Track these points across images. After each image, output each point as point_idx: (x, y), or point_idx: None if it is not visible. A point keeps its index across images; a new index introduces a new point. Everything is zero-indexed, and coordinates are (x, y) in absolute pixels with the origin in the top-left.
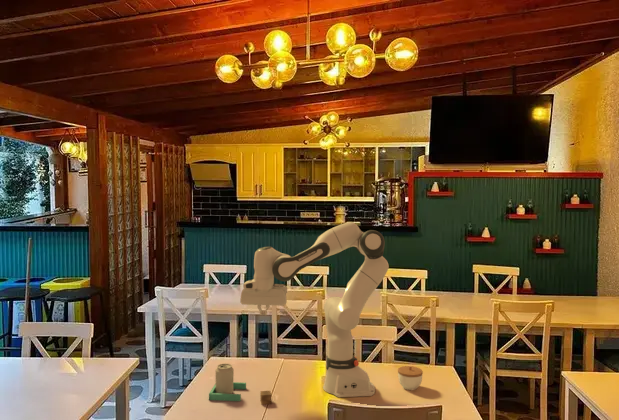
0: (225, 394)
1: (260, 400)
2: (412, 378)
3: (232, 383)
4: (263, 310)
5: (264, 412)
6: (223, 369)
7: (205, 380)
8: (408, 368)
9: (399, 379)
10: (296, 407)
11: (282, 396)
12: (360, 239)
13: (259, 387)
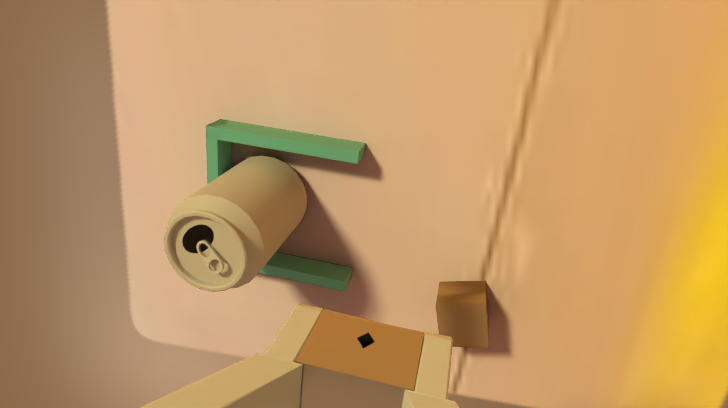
0: (278, 275)
1: (439, 285)
2: None
3: (289, 231)
4: (346, 394)
5: (455, 380)
6: (210, 286)
7: (144, 24)
8: None
9: None
10: (601, 365)
11: (552, 254)
12: None
13: (436, 136)
